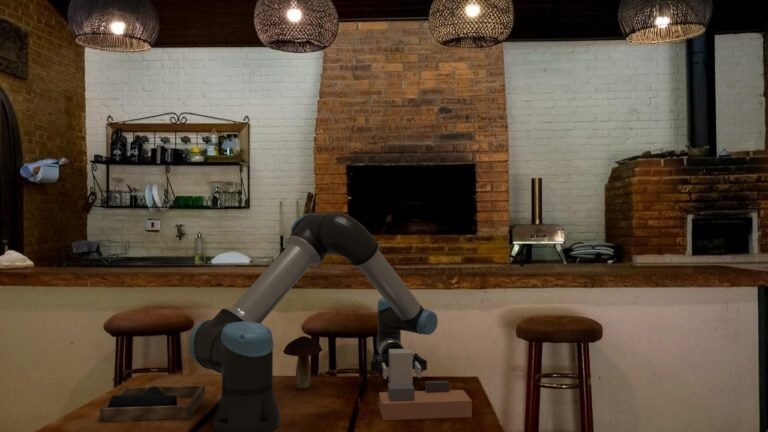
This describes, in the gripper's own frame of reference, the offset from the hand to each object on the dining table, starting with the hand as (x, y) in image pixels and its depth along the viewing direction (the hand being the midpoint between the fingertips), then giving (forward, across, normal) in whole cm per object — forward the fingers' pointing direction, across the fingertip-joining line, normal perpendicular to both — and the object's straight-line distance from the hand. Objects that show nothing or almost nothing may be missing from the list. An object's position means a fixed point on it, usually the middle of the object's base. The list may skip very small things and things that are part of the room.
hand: (402, 373), depth 155 cm
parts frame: (0, +64, -7) cm, 64 cm away
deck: (+7, -4, -7) cm, 11 cm away
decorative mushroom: (-13, +27, -7) cm, 31 cm away
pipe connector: (+2, +65, -8) cm, 66 cm away
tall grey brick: (-5, 0, -7) cm, 8 cm away
